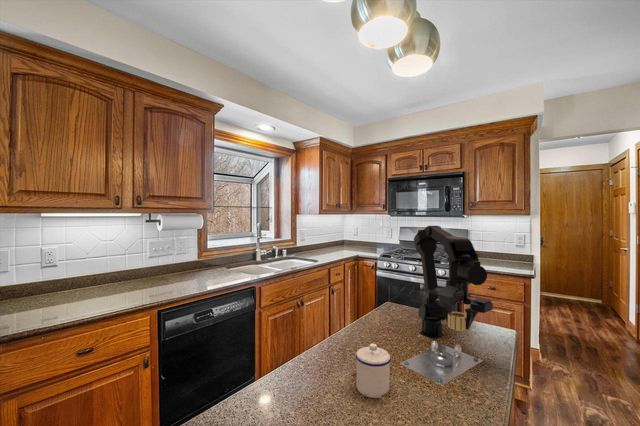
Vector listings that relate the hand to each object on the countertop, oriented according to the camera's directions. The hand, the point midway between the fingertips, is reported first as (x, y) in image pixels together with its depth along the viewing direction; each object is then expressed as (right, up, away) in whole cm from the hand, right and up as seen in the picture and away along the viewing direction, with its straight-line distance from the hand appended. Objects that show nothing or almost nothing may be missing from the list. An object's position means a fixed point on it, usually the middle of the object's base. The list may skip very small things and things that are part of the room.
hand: (457, 325), depth 94 cm
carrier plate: (-7, -11, -4) cm, 13 cm away
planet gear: (0, 0, 0) cm, 0 cm away
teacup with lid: (-31, -11, -15) cm, 36 cm away
